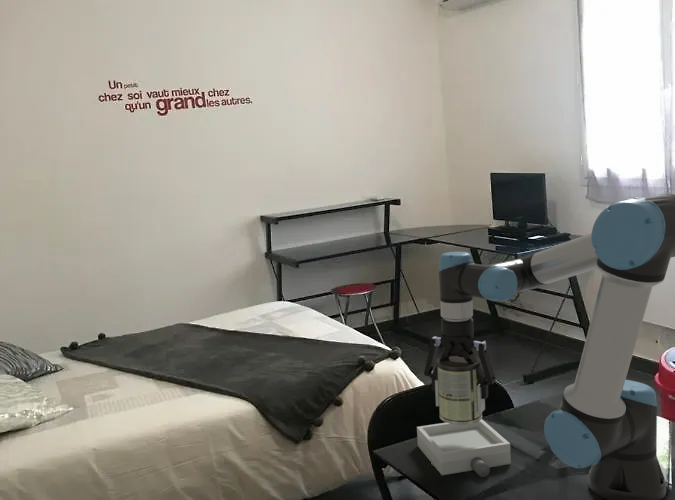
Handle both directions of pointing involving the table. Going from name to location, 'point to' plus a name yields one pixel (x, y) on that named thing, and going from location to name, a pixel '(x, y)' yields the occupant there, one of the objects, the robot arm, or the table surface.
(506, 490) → the table surface
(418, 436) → the white square tray
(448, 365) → the coffee can
